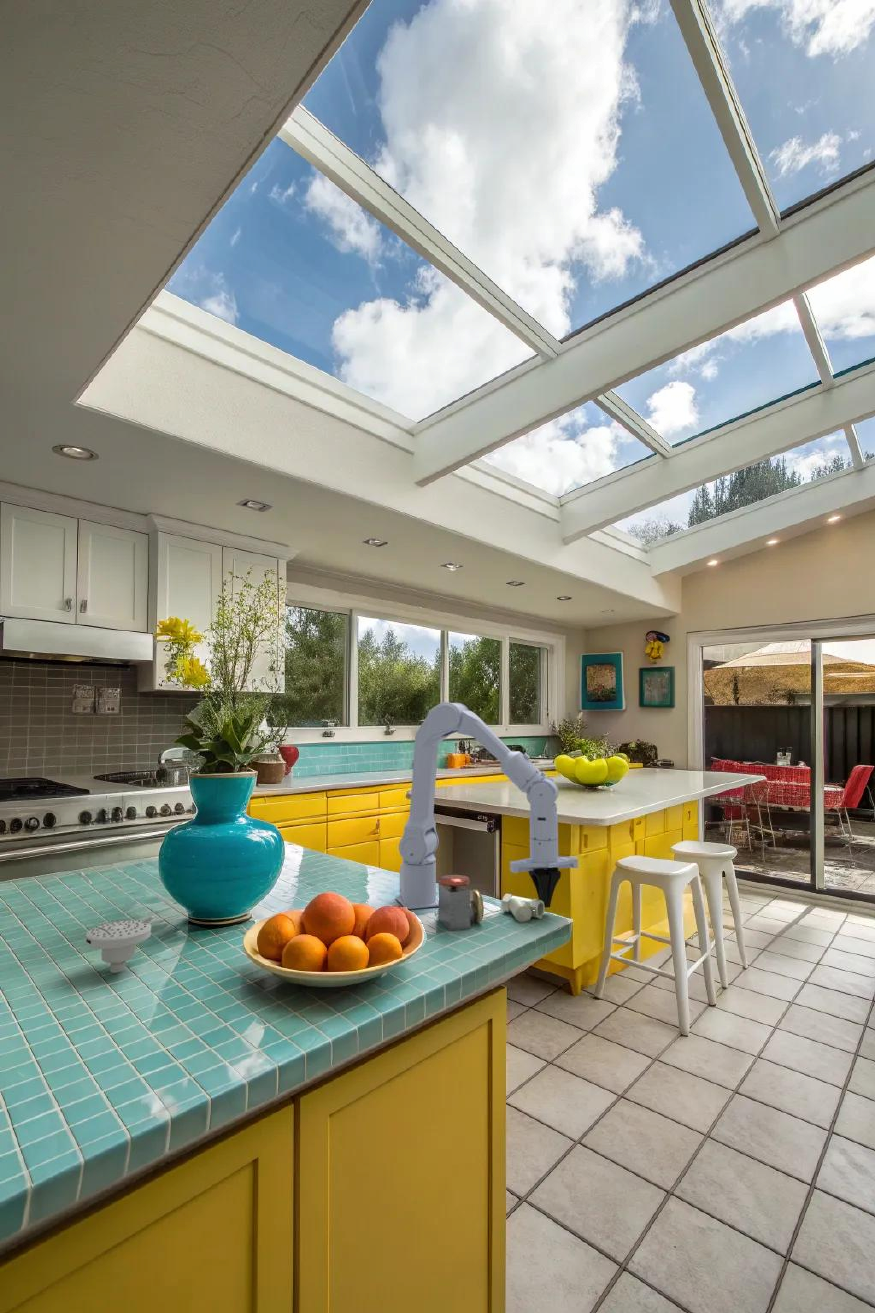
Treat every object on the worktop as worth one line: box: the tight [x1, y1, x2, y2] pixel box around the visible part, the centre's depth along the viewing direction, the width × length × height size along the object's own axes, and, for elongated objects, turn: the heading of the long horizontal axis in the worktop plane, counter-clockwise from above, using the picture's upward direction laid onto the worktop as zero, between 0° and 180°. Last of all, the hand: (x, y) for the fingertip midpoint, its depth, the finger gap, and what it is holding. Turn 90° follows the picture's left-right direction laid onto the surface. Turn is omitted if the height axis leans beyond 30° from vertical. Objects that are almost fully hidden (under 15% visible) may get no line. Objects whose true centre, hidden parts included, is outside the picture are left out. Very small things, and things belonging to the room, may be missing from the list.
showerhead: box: [85, 916, 153, 974], centre depth 106 cm, size 9×7×10 cm
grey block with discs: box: [438, 874, 485, 931], centre depth 129 cm, size 7×8×9 cm
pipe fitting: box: [501, 893, 545, 923], centre depth 133 cm, size 8×4×7 cm
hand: (544, 906), depth 134 cm, fingers closed
